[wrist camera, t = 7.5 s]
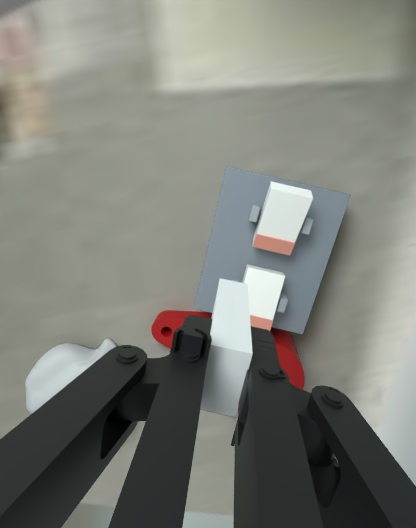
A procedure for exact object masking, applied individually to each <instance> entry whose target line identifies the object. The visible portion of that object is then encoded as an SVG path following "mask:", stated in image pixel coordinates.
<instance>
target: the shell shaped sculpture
mask: <svg viewBox="0 0 416 528" xmlns="http://www.w3.org/2000/svg"><path fill="white" fill-rule="evenodd" d="M114 347H117V346H116V345H115V343H114V342H113V341H112V340H111V339H109V338H107V339H105V340H104V342H103V343H102V345H101V346H100V347H99V348H98V349H89V348H86V347H83V346H81V345H77V344H72V343H64V344H60V345H57V346H56V347H54V348H52V349H51V350H49V351H48V352H47V353H45V354H44V355H43V356H42V357H41V358H40V359H39V360H38V361H37V363H36V365H35V366H34V367H33V369H32V370H31V372H30V373H29V375H28V377H27V379H26V382H25V385H26V407H27V409H28V410H29V412H30V413H31V414H32V413H33V412H35V411H36V410H37V409H38V408H40V407H41V406H42V405H43V404H44V403H46V402H47V401H48V400H49V399H51V398H52V397H53V396H54V395H55V394H57V393H58V392H59V391H60V390H62V389H63V388H64V387H65V386H66V385H68V384H69V383H70V382H71V381H73V380H74V379H75V378H76V377H77V376H79V375H80V374H81V373H82V372H84V371H85V370H86V369H87V368H89V367H90V366H91V365H92V364H93V363H95V362H96V361H97V360H98V359H100V358H101V357H102V356H103V355H104V354H106V353H107V352H108V351H109V350H111V349H113V348H114Z"/></svg>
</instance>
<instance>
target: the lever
mask: <svg viewBox="0 0 416 528" xmlns="http://www.w3.org/2000/svg"><path fill="white" fill-rule="evenodd" d="M189 315H196V316H201V317H205V318H210V319H211V318H212V313H211V312H192V311H163V312H161V313H160V314H159V315H158V316H157V318H156V319H155V321H154V323H153V325H152V329H151V330H152V335H153V337H154V338H155V339H156V340H157V341H158V342H160V343H161V344H163V345H165V346H167V347H169V348H170V349H171V346H172V340H173V334H174V331H175V330H176V329H177V328H179V327H181V326H182V324H183V322H184V319H185V318H186V317H188V316H189ZM166 327H169V328H171V329H168V328H166ZM270 333H271V334H272V335H273V336H274V339H275V345H276V349H277V350H276V351H277V354H278V359H279V364H280V367H281V368H282V369H283V370H284V371H285V372H286V373H287V375H288V377H289V380H290V383H291V384H292V385H294V386H296V387H298V388H300V389H302V390H303V387H304V371H303V368H302V365H301V362H300V359H299V356H298V353H297V350H296V347H295V345H294V342H293V339H292V336H291V334H290V332H289V331H286V330H282V329H278V328H274V327H271V330H270Z"/></svg>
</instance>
